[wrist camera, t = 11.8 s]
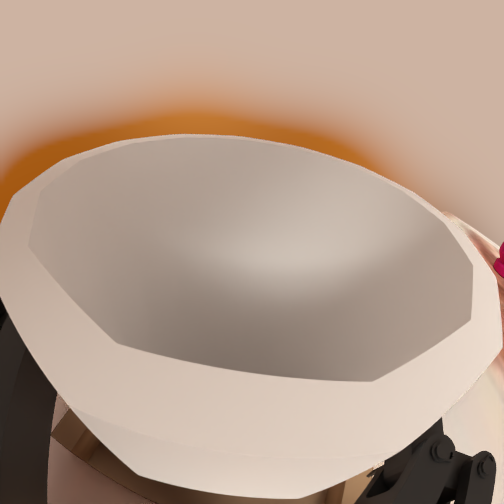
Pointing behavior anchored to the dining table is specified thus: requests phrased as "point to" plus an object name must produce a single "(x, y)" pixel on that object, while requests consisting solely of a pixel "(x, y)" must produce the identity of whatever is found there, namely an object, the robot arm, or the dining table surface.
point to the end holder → (175, 497)
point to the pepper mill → (500, 262)
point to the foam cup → (244, 309)
